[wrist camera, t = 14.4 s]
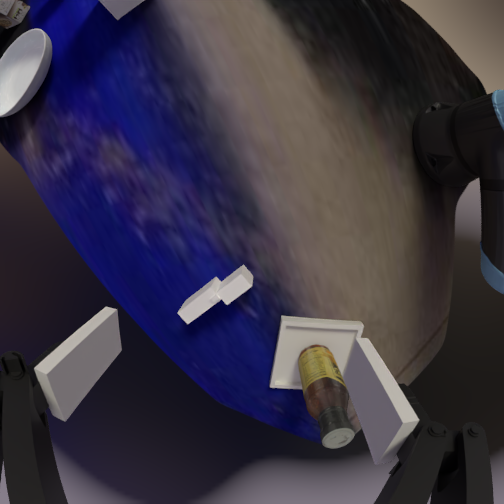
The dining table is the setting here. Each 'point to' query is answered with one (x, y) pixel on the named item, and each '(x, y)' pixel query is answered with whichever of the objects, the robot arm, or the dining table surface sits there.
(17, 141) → the dining table surface
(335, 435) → the sauce bottle
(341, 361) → the tray
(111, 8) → the milk
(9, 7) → the coffee box
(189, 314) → the white stepped block
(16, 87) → the serving bowl
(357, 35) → the dining table surface
